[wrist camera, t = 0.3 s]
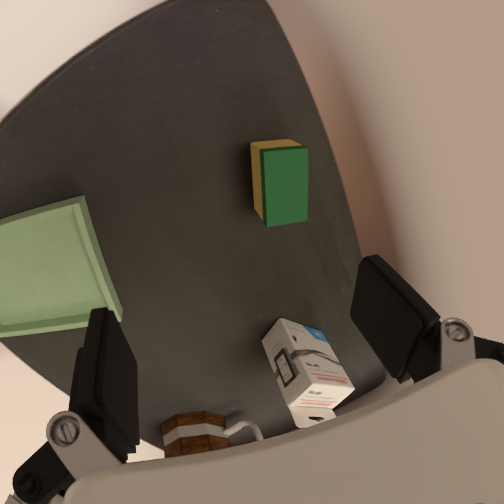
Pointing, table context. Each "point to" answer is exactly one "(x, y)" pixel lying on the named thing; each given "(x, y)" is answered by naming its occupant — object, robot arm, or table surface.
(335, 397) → the ink box
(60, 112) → the table surface
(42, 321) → the tray
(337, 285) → the table surface
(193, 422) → the mug
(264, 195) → the sponge
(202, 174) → the table surface
